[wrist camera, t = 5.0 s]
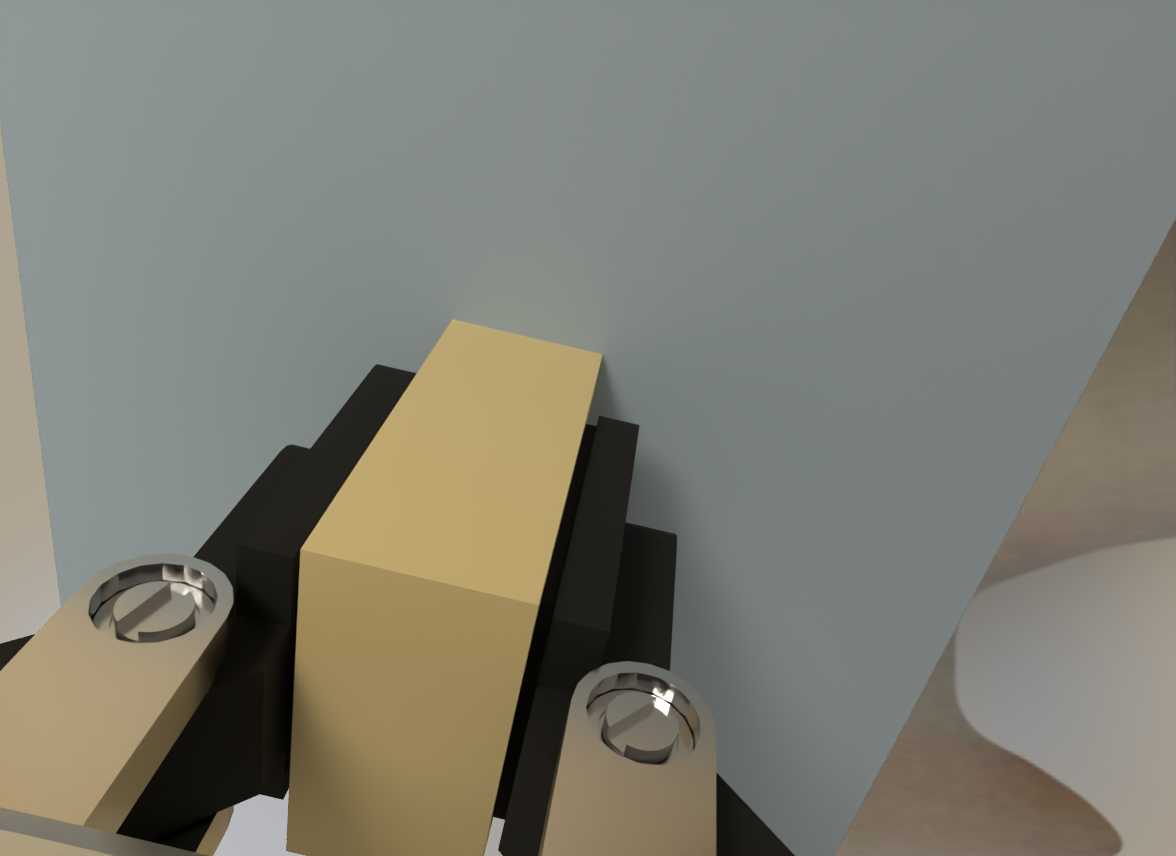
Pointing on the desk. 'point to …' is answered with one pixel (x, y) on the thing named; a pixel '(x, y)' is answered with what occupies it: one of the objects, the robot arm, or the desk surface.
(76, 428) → the lid
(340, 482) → the robot arm
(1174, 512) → the desk surface
